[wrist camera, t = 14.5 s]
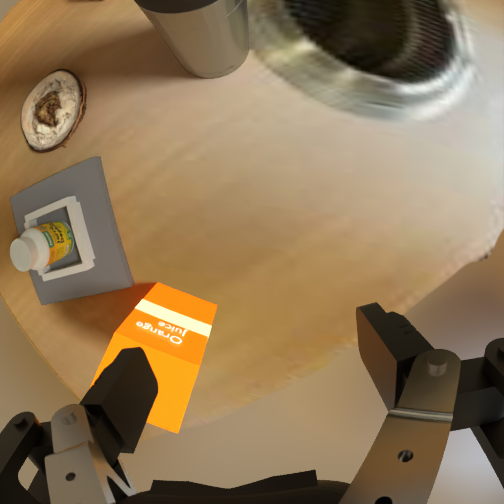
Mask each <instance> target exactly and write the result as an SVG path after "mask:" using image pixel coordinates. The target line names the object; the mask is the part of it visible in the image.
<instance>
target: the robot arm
mask: <svg viewBox="0 0 504 504" xmlns="http://www.w3.org/2000/svg"><path fill="white" fill-rule="evenodd" d="M134 1H135V2H136V3H137V4H138V6H139V7H140V8H141V10H142V11H143V12H144V14H145V15H146V16H147V18H148V19H149V20H150V21H151V23H152V24H153V26H154V27H155V28H156V30H157V31H158V32H159V34H160V35H161V36H162V38H163V39H164V41H165V42H166V43H167V45H168V46H169V48H170V49H171V50H172V52H173V53H174V55H175V56H176V58H177V59H178V60H179V62H180V63H181V65H182V66H183V67H184V68H185V69H186V70H187V71H188V72H190V73H191V74H193V75H195V76H198V77H203V78H216V77H222V76H224V75H227V74H229V73H231V72H233V71H235V70H236V69H237V68H238V67H240V66H241V64H242V63H243V62H244V61H245V59H246V57H247V55H248V51H249V29H248V12H247V0H134ZM356 320H357V332H358V346H359V351H360V355H361V358H362V361H363V363H364V364H365V366H366V368H367V370H368V372H369V374H370V376H371V378H372V380H373V382H374V384H375V386H376V388H377V390H378V392H379V394H380V396H381V398H382V400H383V402H384V403H385V405H386V407H387V409H388V411H389V412H388V414H387V416H386V418H385V421H384V423H383V425H382V427H381V429H380V431H379V433H378V435H377V437H376V439H375V441H374V443H373V445H372V447H371V449H370V451H369V453H368V455H367V457H366V458H365V460H364V462H363V464H362V466H361V467H360V469H359V471H358V473H357V474H356V476H355V478H354V480H353V481H352V483H351V484H348V483H345V482H339V481H330V480H317V477H316V471H315V470H311V471H305V472H299V473H293V474H287V475H280V476H273V477H269V478H266V479H263V480H260V481H257V482H253V483H250V484H246V485H243V486H239V487H235V488H231V489H225V488H219V487H213V486H208V485H203V484H198V483H193V482H189V481H163V480H153V483H152V486H151V489H150V490H149V491H145V492H140V493H137V492H136V490H135V488H134V486H133V484H132V482H131V480H130V478H129V476H128V474H127V472H126V469H125V467H124V465H123V463H122V461H121V460H120V459H119V457H118V456H119V454H120V453H132V454H133V453H134V451H135V448H136V446H137V443H138V441H139V438H140V436H141V433H142V431H143V428H144V426H145V424H146V421H147V419H148V416H149V414H150V411H151V409H152V407H153V404H154V402H155V399H156V397H157V394H158V381H157V379H156V376H155V374H154V372H153V370H152V367H151V365H150V363H149V361H148V358H147V356H146V354H145V352H144V350H143V349H142V348H141V347H132V348H123V349H121V351H120V352H119V353H118V355H117V356H116V358H115V359H114V360H113V362H112V363H110V364H109V365H108V366H107V367H105V368H104V369H103V371H102V372H101V374H100V375H99V376H98V378H97V379H96V381H95V382H94V385H92V386H91V388H90V389H89V390H88V392H87V393H86V395H85V396H84V398H83V399H82V401H81V402H80V404H70V405H67V406H65V407H63V408H61V409H59V410H58V411H57V412H56V413H55V414H54V415H53V417H52V419H51V421H50V422H43V423H39V421H38V420H37V418H36V417H35V415H34V414H33V413H31V412H22V413H20V414H18V415H16V416H15V417H13V418H12V419H11V420H10V421H9V423H8V424H7V425H6V427H5V428H4V429H3V431H2V432H1V433H0V504H427V501H428V499H429V496H430V493H431V490H432V488H433V485H434V482H435V479H436V476H437V473H438V470H439V467H440V464H441V461H442V458H443V454H444V451H445V447H446V444H447V440H448V436H449V432H450V431H455V430H460V429H466V428H471V430H472V432H473V433H474V435H475V437H476V439H477V440H478V442H479V444H480V445H481V447H482V449H483V451H484V453H485V454H486V456H487V458H488V460H489V461H490V463H491V465H492V467H493V469H494V471H495V473H496V475H497V476H498V478H499V480H500V482H501V484H502V486H503V488H504V338H499V339H495V340H493V341H491V342H490V343H489V344H488V345H487V347H486V349H485V354H484V357H480V358H474V359H468V360H460V359H459V357H458V356H457V355H456V354H455V353H453V352H451V351H448V350H444V349H434V348H433V347H432V346H431V345H430V344H429V342H428V341H427V340H425V338H424V337H423V336H422V335H421V334H420V333H419V332H418V331H416V328H415V327H414V326H412V325H411V323H410V322H409V321H408V320H407V319H406V318H405V317H404V316H402V315H400V314H398V313H395V312H389V313H386V312H385V311H384V310H383V309H382V307H381V306H380V305H379V304H378V303H377V302H375V303H371V304H367V305H364V306H360V307H357V308H356ZM27 457H28V458H29V459H30V460H31V461H32V462H33V463H34V465H35V466H36V467H37V468H38V469H39V470H38V472H37V474H36V476H35V477H34V479H33V481H32V483H31V485H30V487H29V489H28V490H26V489H25V488H24V487H23V486H22V485H21V484H20V482H19V480H18V472H19V470H20V468H21V466H22V465H23V463H24V462H25V460H26V458H27Z"/></svg>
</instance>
